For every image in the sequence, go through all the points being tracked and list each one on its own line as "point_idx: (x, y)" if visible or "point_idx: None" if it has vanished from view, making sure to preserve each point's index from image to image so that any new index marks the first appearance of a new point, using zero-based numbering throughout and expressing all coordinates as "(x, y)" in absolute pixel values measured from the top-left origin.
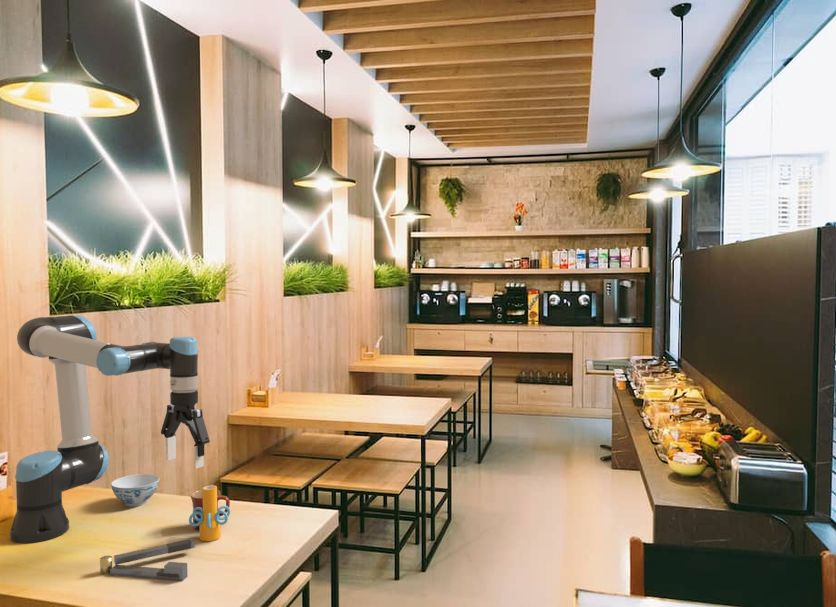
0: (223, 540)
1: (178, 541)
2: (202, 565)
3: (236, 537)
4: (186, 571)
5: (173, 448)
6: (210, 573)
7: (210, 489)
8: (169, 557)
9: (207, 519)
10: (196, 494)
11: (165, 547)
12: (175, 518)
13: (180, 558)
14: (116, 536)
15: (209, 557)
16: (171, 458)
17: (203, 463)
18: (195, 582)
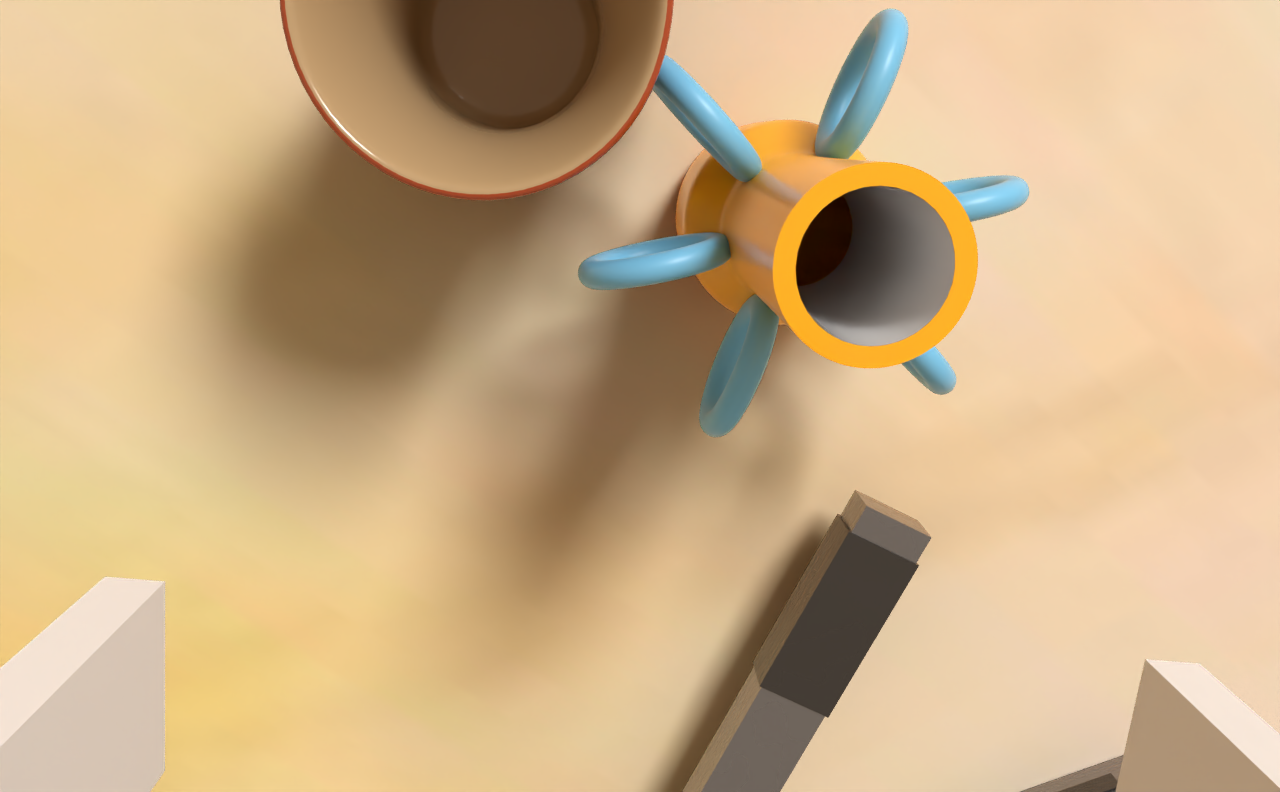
0: None
1: (809, 606)
2: (1096, 596)
3: (967, 85)
4: None
5: (38, 778)
6: (1237, 648)
7: (949, 323)
8: None
9: (939, 393)
10: (321, 20)
11: (807, 726)
12: (84, 54)
13: None
14: (51, 600)
15: (1046, 482)
16: (156, 701)
17: (1236, 708)
18: None
